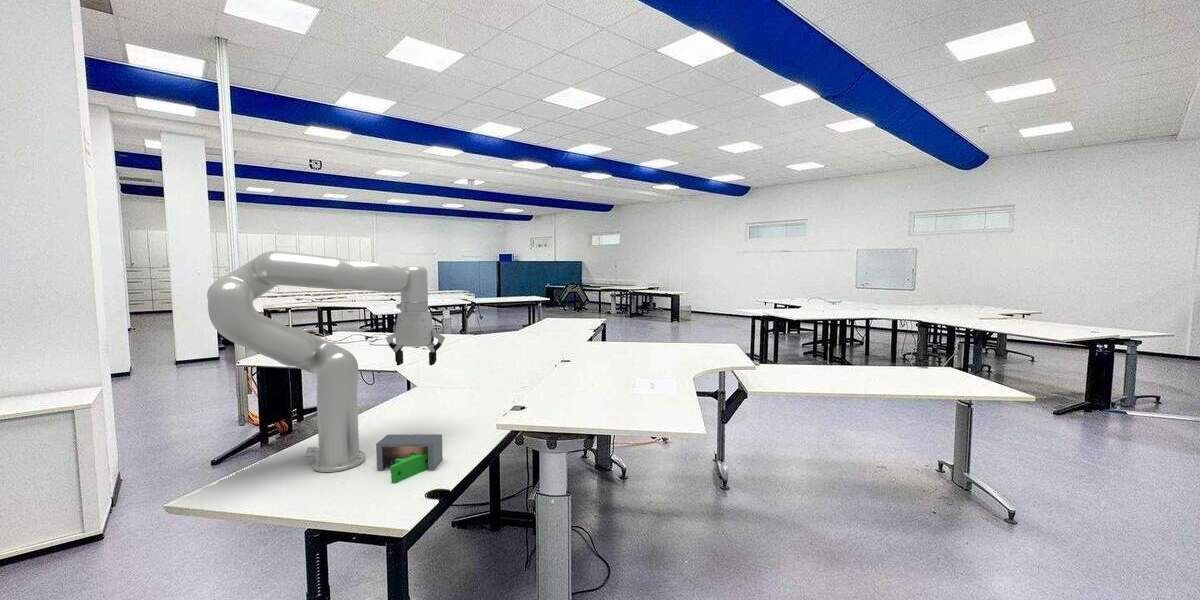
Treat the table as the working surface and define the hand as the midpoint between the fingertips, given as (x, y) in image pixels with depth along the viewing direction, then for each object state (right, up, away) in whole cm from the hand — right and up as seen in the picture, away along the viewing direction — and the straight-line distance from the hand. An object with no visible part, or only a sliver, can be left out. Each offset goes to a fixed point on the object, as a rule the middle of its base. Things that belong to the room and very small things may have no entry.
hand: (416, 364), depth 138 cm
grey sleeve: (+4, -25, -14) cm, 29 cm away
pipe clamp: (+6, -26, -19) cm, 33 cm away
